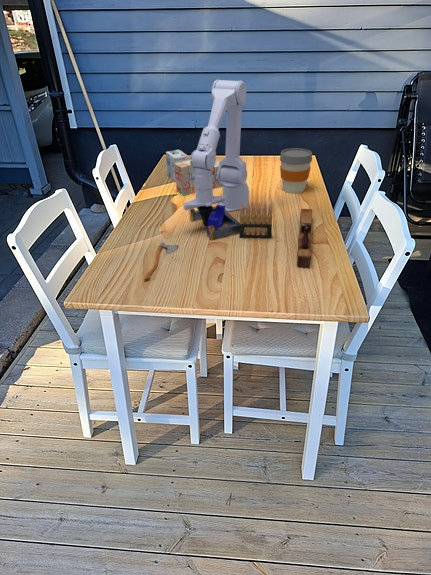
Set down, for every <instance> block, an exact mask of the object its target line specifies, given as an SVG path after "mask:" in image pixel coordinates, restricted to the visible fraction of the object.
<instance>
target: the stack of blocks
mask: <svg viewBox="0 0 431 575" xmlns="http://www.w3.org/2000/svg"><path fill="white" fill-rule="evenodd" d="M190 160H191V159H188V161H183V162H178V163H174V165H175V178H176V182H175V186H176V193H178V192H179V193H180V194H179V193H178V194H179V195H181V194H182V195H183V197H186V195H187V196H191V195H190V194H192V195H194V194H193V193H195V174H194V173H193V169H192V167H191V164H190ZM220 161H221V160H216V161H215V165H214V167H213V169H212V183H213V190H215V189H218V188H220V187H222V188H223V185H222V184H221V182H220V181H219V180H218V177H217V172H218V168H219V162H220ZM182 195H181V196H182Z"/></svg>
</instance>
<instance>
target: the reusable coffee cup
mask: <svg viewBox="0 0 431 575" xmlns="http://www.w3.org/2000/svg"><path fill="white" fill-rule="evenodd" d="M279 161H280V166H279V169H280V179H281V183H282V184H281V185H282V191H284V193H288V194H300V193H303V192H304V191H305V189H306V185H307V180H309V177H310V172H311V163H312V161H313V152H312V151H311V150H309V149H307V148H299V147H295V148H293V147H292V148H285V149H283V150H281V152H280V158H279Z"/></svg>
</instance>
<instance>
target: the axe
mask: <svg viewBox="0 0 431 575" xmlns="http://www.w3.org/2000/svg"><path fill="white" fill-rule="evenodd" d="M179 247H180V245H179V244H166V243H165V242H163V241H161V242H160V243H159V245H158V248H157V249H156V252H155V260H154V264H153V265H152V268H151V269H150V270H149V271H147V273H146V274H145V276H144V278H143V281H144V282H149V281H151V280H150V279H151V276H152V274H153V273H154V271H155V270H156V269H157V267H158V265H159V262H160V261H159V260H160V254H161V252H162V250H163V249H165V251H166V252H165V254H166V255H169V254H173V253H175V252H176V251H177V250H179Z"/></svg>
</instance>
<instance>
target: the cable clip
mask: <svg viewBox="0 0 431 575" xmlns="http://www.w3.org/2000/svg"><path fill="white" fill-rule="evenodd" d="M225 211H226V210H225V206H222V205H219V204H216V211H215V212H212V213H211V215H210V217H209V218H208V226H211V225H213V226H214V227H215V229H216V228H220V227H223V225H224V223H225V222H224V214H225ZM208 226H207V230H206V231H207V232H206V235H207V236H209V229H208Z"/></svg>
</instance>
